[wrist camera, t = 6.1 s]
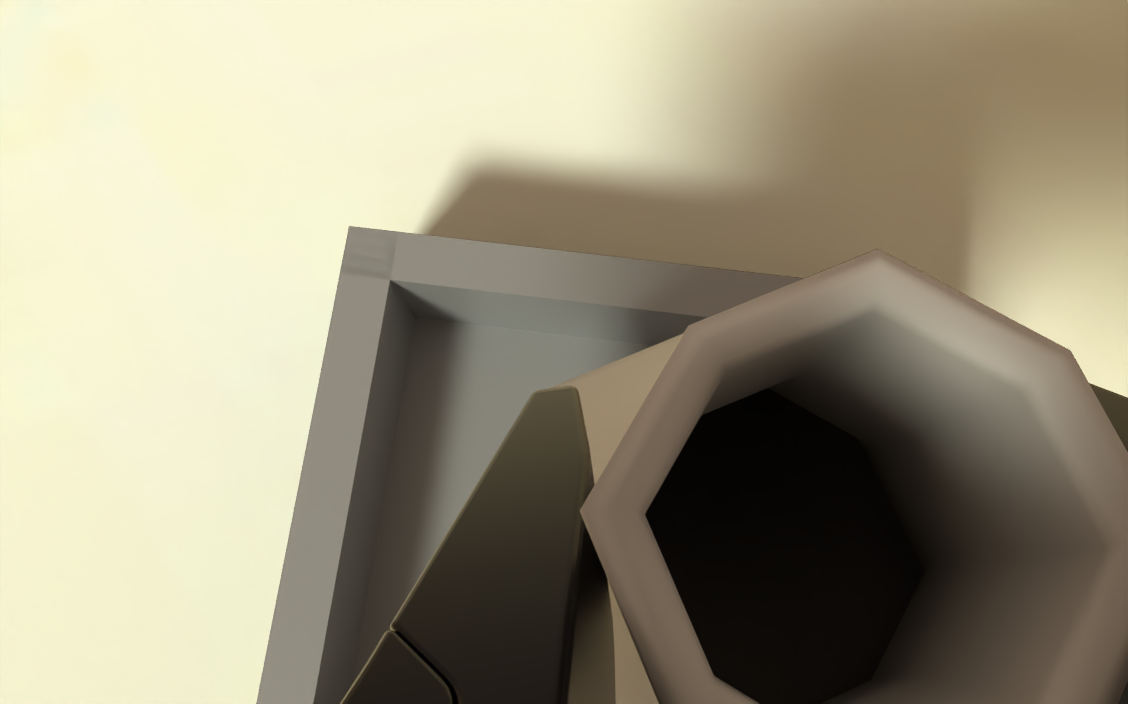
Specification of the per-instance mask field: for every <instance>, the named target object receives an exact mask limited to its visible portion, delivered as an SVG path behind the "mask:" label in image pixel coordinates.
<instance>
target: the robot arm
mask: <svg viewBox="0 0 1128 704" xmlns="http://www.w3.org/2000/svg"><path fill="white" fill-rule="evenodd" d="M1089 384H1090V383H1089ZM1090 386H1091V388H1092V390H1093V391H1094V393H1095V395H1096V397H1097V399H1098V400H1099V402H1100V404H1101V406H1102V407H1103V409H1104V411H1105V413H1106V415H1107V416H1108V418H1109V420H1110V422H1111V424H1112V425H1113V427H1114V429H1115V431H1116V432H1117V434H1118V436H1119V438H1120V440H1121V441H1122V443H1123V445H1124V447H1125V448H1126V450H1127V452H1128V398H1127V397H1125V396H1122V395H1119V394H1117V393H1114V392H1111V391H1109V390H1106V389H1103V388H1101V387H1098V386H1095V385H1093V384H1090ZM594 485H595V483H594V476H593V468H592V461H591V454H590V446H589V441H588V436H587V431H586V426H585V421H584V416H583V411H582V405H581V400H580V395H579V391H578V389H577V388H576V387H574V386H563V387H556V388H549V389H543V390H537V391H535V392H534V393H532V394H531V396H530V398H529V399H528V401H527V402H526V404H525V406H524V407H523V409H522V411H521V412H520V414H519V415H518V417H517V419H516V420H515V422H514V424H513V425H512V427H511V429H510V430H509V432H508V433H507V435H506V437H505V438H504V440H503V442H502V443H501V445H500V446H499V448H498V450H497V451H496V453H495V455H494V456H493V458H492V460H491V461H490V463H489V464H488V466H487V468H486V469H485V471H484V473H483V474H482V476H481V477H480V479H479V481H478V482H477V484H476V486H475V487H474V489H473V491H472V492H471V494H470V495H469V497H468V499H467V500H466V502H465V504H464V505H463V507H462V509H461V510H460V512H459V513H458V515H457V517H456V518H455V520H454V522H453V523H452V525H451V526H450V528H449V530H448V531H447V533H446V535H445V536H444V538H443V540H442V541H441V543H440V544H439V546H438V548H437V549H436V551H435V553H434V554H433V556H432V557H431V559H430V561H429V562H428V564H427V566H426V567H425V569H424V571H423V572H422V574H421V575H420V577H419V579H418V580H417V582H416V584H415V585H414V587H413V588H412V590H411V592H410V593H409V595H408V597H407V598H406V600H405V602H404V603H403V605H402V606H401V608H400V610H399V611H398V613H397V615H396V616H395V618H394V620H393V621H392V623H391V625H390V630H388V631H386V632H385V633H384V635H383V636H382V638H381V640H380V641H379V643H378V645H377V646H376V648H375V650H374V651H373V653H372V655H371V656H370V658H369V660H368V661H367V663H366V664H365V666H364V667H363V669H362V671H361V672H360V674H359V675H358V677H357V678H356V680H355V681H354V683H353V684H352V686H351V687H350V689H349V690H348V692H347V693H346V695H345V696H344V698H343V699H342V701H341V702H340V704H616V693H615V656H614V633H613V618H612V610H611V602H610V594H609V587H608V579H607V576H606V574H605V571H604V569H603V567H602V564H601V562H600V559H599V557H598V554H597V552H596V550H595V547H594V545H593V542H592V540H591V537H590V535H589V533H588V530H587V528H586V525H585V523H584V520H583V518H582V516H581V513H580V509H581V508H582V506H583V504H584V503H585V501H586V499H587V497H588V496H589V494H590V492H591V491H592V489H593V487H594ZM951 561H952V560H951ZM1118 704H1128V682H1127V684H1126V687H1125V689H1124V691H1123V694H1122V696H1121V698H1120V701H1119V703H1118Z"/></svg>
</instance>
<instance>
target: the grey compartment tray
mask: <svg viewBox="0 0 1128 704" xmlns="http://www.w3.org/2000/svg"><path fill="white" fill-rule="evenodd" d="M802 279H804V278H796V277H788V276H779V275H770V274H761V273H753V272H744V271H735V270H727V269H718V268H709V267H701V266H692V265H683V264H674V263H666V262H657V261H648V260H640V259H631V258H622V257H614V256H605V255H596V254H587V253H579V252H570V251H561V250H553V249H544V248H535V247H527V246H518V245H509V244H500V243H492V242H483V241H474V240H466V239H457V238H448V237H440V236H431V235H422V234H413V233H405V232H396V231H387V230H379V229H370V228H361V227H353V226H349V229H348V235H347V240H346V245H345V250H344V255H343V260H342V265H341V271H340V276H339V281H338V286H337V291H336V296H335V302H334V307H333V312H332V317H331V322H330V327H329V332H328V338H327V343H326V348H325V353H324V358H323V363H322V368H321V374H320V379H319V384H318V389H317V394H316V399H315V405H314V410H313V415H312V420H311V425H310V430H309V435H308V441H307V446H306V451H305V456H304V461H303V466H302V471H301V477H300V482H299V487H298V492H297V497H296V502H295V508H294V513H293V518H292V523H291V528H290V533H289V538H288V544H287V549H286V554H285V559H284V564H283V569H282V574H281V580H280V585H279V590H278V595H277V600H276V605H275V611H274V616H273V621H272V626H271V631H270V636H269V641H268V647H267V652H266V657H265V662H264V667H263V672H262V677H261V683H260V688H259V693H258V698H257V703H256V704H340V702H341V701H342V699H343V698H344V696H345V695H346V693H347V692H348V690H349V689H350V687H351V686H352V684H353V683H354V681H355V680H356V678H357V677H358V675H359V674H360V672H361V671H362V669H363V667H364V666H365V664H366V663H367V661H368V660H369V658H370V656H371V655H372V653H373V651H374V650H375V648H376V646H377V645H378V643H379V641H380V640H381V638H382V636H383V635H384V633H385V632H386V631H388V630H390V625H391V623H392V621H393V620H394V618H395V616H396V615H397V613H398V611H399V610H400V608H401V606H402V605H403V603H404V602H405V600H406V598H407V597H408V595H409V593H410V592H411V590H412V588H413V587H414V585H415V584H416V582H417V580H418V579H419V577H420V575H421V574H422V572H423V571H424V569H425V567H426V566H427V564H428V562H429V561H430V559H431V557H432V556H433V554H434V553H435V551H436V549H437V548H438V546H439V544H440V543H441V541H442V540H443V538H444V536H445V535H446V533H447V531H448V530H449V528H450V526H451V525H452V523H453V522H454V520H455V518H456V517H457V515H458V513H459V512H460V510H461V509H462V507H463V505H464V504H465V502H466V500H467V499H468V497H469V495H470V494H471V492H472V491H473V489H474V487H475V486H476V484H477V482H478V481H479V479H480V477H481V476H482V474H483V473H484V471H485V469H486V468H487V466H488V464H489V463H490V461H491V460H492V458H493V456H494V455H495V453H496V451H497V450H498V448H499V446H500V445H501V443H502V442H503V440H504V438H505V437H506V435H507V433H508V432H509V430H510V429H511V427H512V425H513V424H514V422H515V420H516V419H517V417H518V415H519V414H520V412H521V411H522V409H523V407H524V406H525V404H526V402H527V401H528V399H529V398H530V396H531V394H532V393H534V392H535V391H537V390H543V389H548V388H550V387H553V386H555V385H558V384H560V383H563V382H565V381H567V380H570V379H572V378H575V377H577V376H580V375H582V374H585V373H587V372H590V371H592V370H595V369H597V368H600V367H602V366H604V365H607V364H609V363H612V362H614V361H617V360H619V359H622V358H624V357H627V356H629V355H632V354H634V353H637V352H639V351H641V350H644V349H646V348H649V347H651V346H654V345H656V344H659V343H661V342H664V341H666V340H669V339H671V338H673V337H676V336H678V335H681V334H683V333H684V332H685V330H686V329H687V327H688V326H689V325H691V324H693V323H696V322H698V321H701V320H703V319H705V318H708V317H710V316H713V315H715V314H718V313H720V312H723V311H725V310H728V309H730V308H733V307H735V306H738V305H740V304H743V303H745V302H747V301H750V300H752V299H755V298H757V297H760V296H762V295H765V294H767V293H770V292H772V291H775V290H777V289H780V288H782V287H784V286H787V285H789V284H792V283H794V282H797V281H799V280H802Z"/></svg>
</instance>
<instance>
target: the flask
mask: <svg viewBox="0 0 1128 704" xmlns="http://www.w3.org/2000/svg"><path fill="white" fill-rule="evenodd" d="M563 386H574V387H576V388H577V389H578V391H579V395H580V400H581V405H582V411H583V416H584V421H585V426H586V431H587V436H588V441H589V446H590V454H591V461H592V468H593V476H594V483H595V485H594V487H593V489H592V491H591V492H590V494H589V496H588V497H587V499H586V501H585V503H584V504H583V506H582V508H581V509H580V513H581V516H582V518H583V520H584V523H585V525H586V528H587V530H588V533H589V535H590V537H591V540H592V542H593V545H594V547H595V550H596V552H597V554H598V557H599V559H600V562H601V564H602V567H603V569H604V571H605V574H606V576H607V579H608V587H609V594H610V602H611V610H612V618H613V633H614V656H615V693H616V704H1118V703H1119V701H1120V698H1121V696H1122V694H1123V691H1124V689H1125V687H1126V684H1127V682H1128V452H1127V450H1126V448H1125V447H1124V445H1123V443H1122V441H1121V440H1120V438H1119V436H1118V434H1117V432H1116V431H1115V429H1114V427H1113V425H1112V424H1111V422H1110V420H1109V418H1108V416H1107V415H1106V413H1105V411H1104V409H1103V407H1102V406H1101V404H1100V402H1099V400H1098V399H1097V397H1096V395H1095V393H1094V391H1093V390H1092V388H1091V386H1090V384H1089V383H1088V381H1087V379H1086V377H1085V375H1084V374H1083V372H1082V370H1081V368H1080V367H1079V365H1078V363H1077V361H1076V359H1075V358H1074V356H1073V354H1072V352H1071V351H1070V350H1068V349H1066V348H1065V347H1063V346H1061V345H1059V344H1057V343H1055V342H1053V341H1051V340H1049V339H1048V338H1046V337H1044V336H1042V335H1040V334H1038V333H1036V332H1034V331H1032V330H1031V329H1029V328H1027V327H1025V326H1023V325H1021V324H1019V323H1017V322H1016V321H1014V320H1012V319H1010V318H1008V317H1006V316H1004V315H1002V314H1000V313H999V312H997V311H995V310H993V309H991V308H989V307H987V306H985V305H983V304H982V303H980V302H978V301H976V300H974V299H972V298H970V297H968V296H966V295H965V294H963V293H961V292H959V291H957V290H955V289H953V288H951V287H949V286H948V285H946V284H944V283H942V282H940V281H938V280H936V279H934V278H932V277H931V276H929V275H927V274H925V273H923V272H921V271H919V270H917V269H915V268H914V267H912V266H910V265H908V264H906V263H904V262H902V261H900V260H898V259H897V258H895V257H893V256H891V255H889V254H887V253H885V252H883V251H881V250H880V249H876V250H873V251H871V252H868V253H866V254H863V255H861V256H859V257H856V258H854V259H851V260H849V261H846V262H844V263H841V264H839V265H836V266H834V267H831V268H829V269H826V270H824V271H821V272H819V273H817V274H814V275H812V276H809V277H807V278H804V279H802V280H799V281H797V282H794V283H792V284H789V285H787V286H784V287H782V288H780V289H777V290H775V291H772V292H770V293H767V294H765V295H762V296H760V297H757V298H755V299H752V300H750V301H747V302H745V303H743V304H740V305H738V306H735V307H733V308H730V309H728V310H725V311H723V312H720V313H718V314H715V315H713V316H710V317H708V318H705V319H703V320H701V321H698V322H696V323H693V324H691V325H689V326H688V327H687V329H686V330H685V332H684V333H683V334H681V335H678V336H676V337H673V338H671V339H669V340H666V341H664V342H661V343H659V344H656V345H654V346H651V347H649V348H646V349H644V350H641V351H639V352H637V353H634V354H632V355H629V356H627V357H624V358H622V359H619V360H617V361H614V362H612V363H609V364H607V365H604V366H602V367H600V368H597V369H595V370H592V371H590V372H587V373H585V374H582V375H580V376H577V377H575V378H572V379H570V380H567V381H565V382H563V383H560V384H558V385H555V386H553V387H550V388H556V387H563ZM548 389H549V388H548ZM951 560H952V561H951Z"/></svg>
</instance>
